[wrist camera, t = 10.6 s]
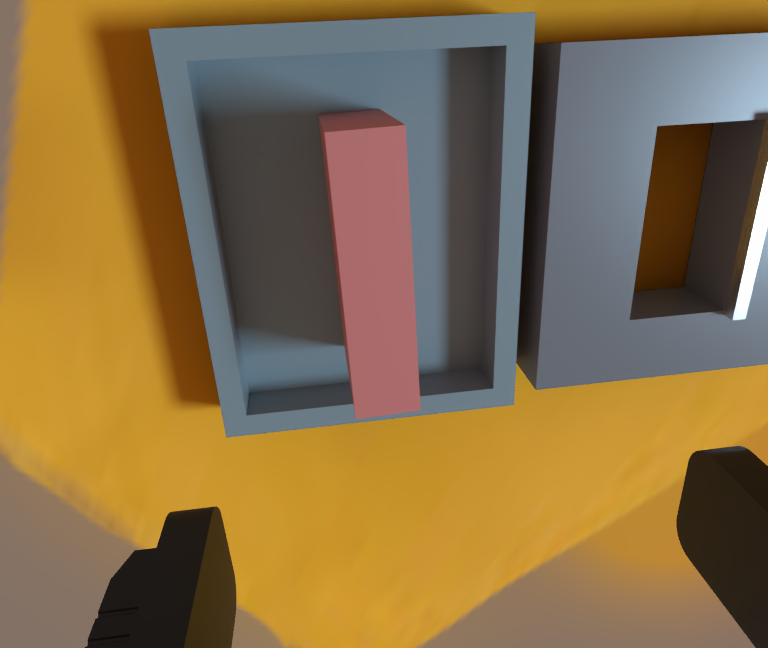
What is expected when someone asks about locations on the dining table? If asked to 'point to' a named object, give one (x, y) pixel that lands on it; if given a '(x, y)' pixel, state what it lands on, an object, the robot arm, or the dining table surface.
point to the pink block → (373, 257)
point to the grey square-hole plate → (642, 210)
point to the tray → (311, 212)
